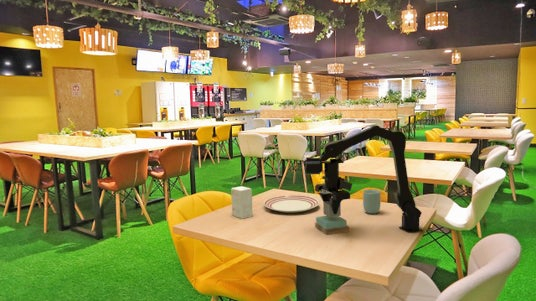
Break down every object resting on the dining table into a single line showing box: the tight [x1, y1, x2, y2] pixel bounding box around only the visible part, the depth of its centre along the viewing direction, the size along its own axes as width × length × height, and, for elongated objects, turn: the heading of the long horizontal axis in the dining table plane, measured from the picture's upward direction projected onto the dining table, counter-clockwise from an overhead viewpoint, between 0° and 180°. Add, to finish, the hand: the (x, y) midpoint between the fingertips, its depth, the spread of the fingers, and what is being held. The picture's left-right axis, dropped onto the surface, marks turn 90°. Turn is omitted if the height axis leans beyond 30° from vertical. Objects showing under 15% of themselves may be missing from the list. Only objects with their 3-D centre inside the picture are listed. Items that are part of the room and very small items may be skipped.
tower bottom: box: [314, 222, 350, 235], centre depth 154 cm, size 10×10×2 cm
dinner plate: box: [263, 194, 320, 214], centre depth 188 cm, size 27×27×3 cm
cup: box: [362, 189, 382, 215], centre depth 175 cm, size 8×8×10 cm
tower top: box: [315, 215, 348, 230], centre depth 153 cm, size 9×9×2 cm
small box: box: [230, 185, 254, 219], centre depth 175 cm, size 8×6×13 cm
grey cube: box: [322, 201, 342, 217], centre depth 153 cm, size 5×5×5 cm
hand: (332, 212), depth 153 cm, fingers closed on grey cube, 5 cm apart
